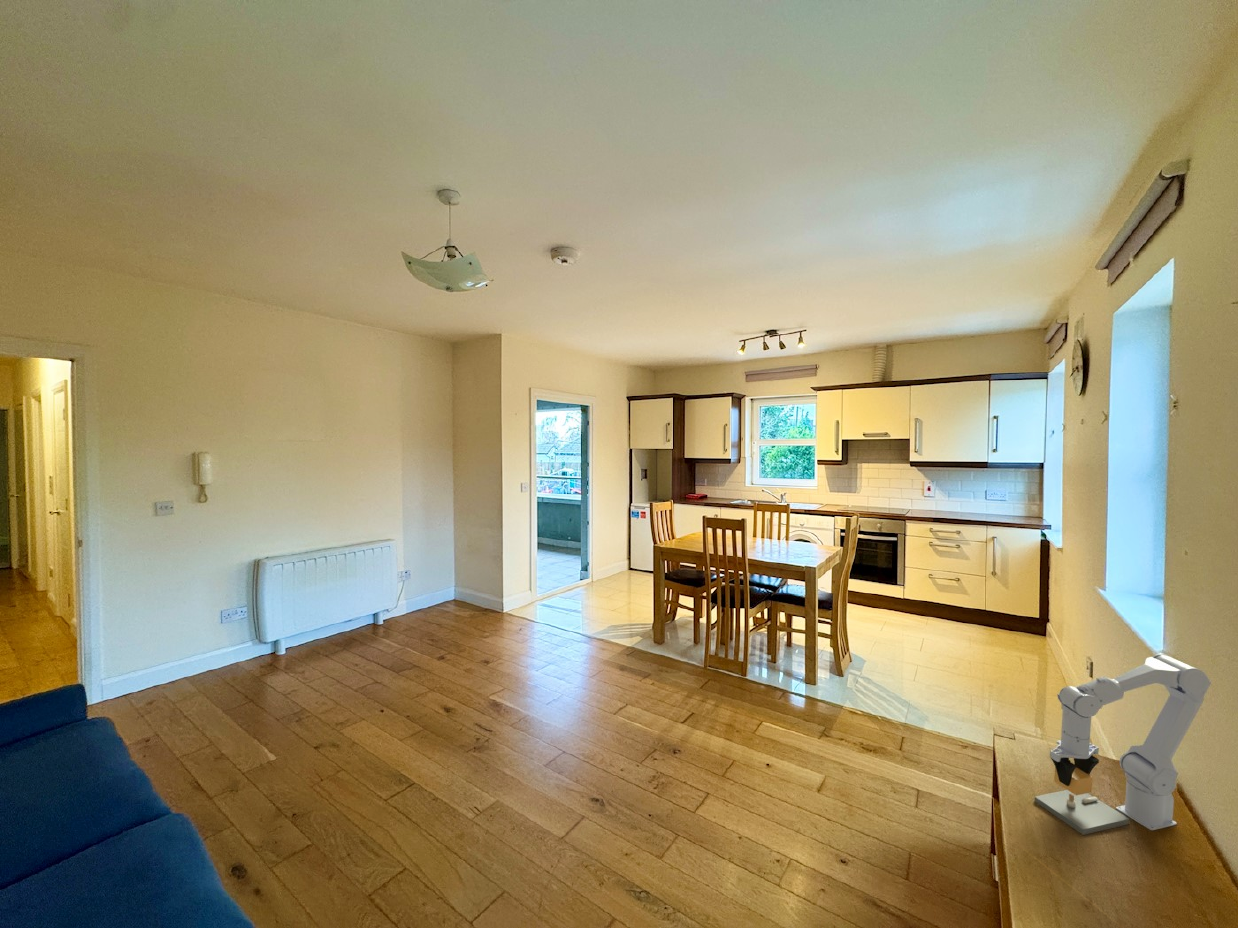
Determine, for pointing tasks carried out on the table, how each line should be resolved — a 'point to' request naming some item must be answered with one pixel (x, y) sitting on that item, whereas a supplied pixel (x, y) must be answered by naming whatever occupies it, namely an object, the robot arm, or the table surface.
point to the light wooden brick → (1077, 782)
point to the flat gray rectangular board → (1081, 811)
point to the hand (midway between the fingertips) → (1072, 781)
